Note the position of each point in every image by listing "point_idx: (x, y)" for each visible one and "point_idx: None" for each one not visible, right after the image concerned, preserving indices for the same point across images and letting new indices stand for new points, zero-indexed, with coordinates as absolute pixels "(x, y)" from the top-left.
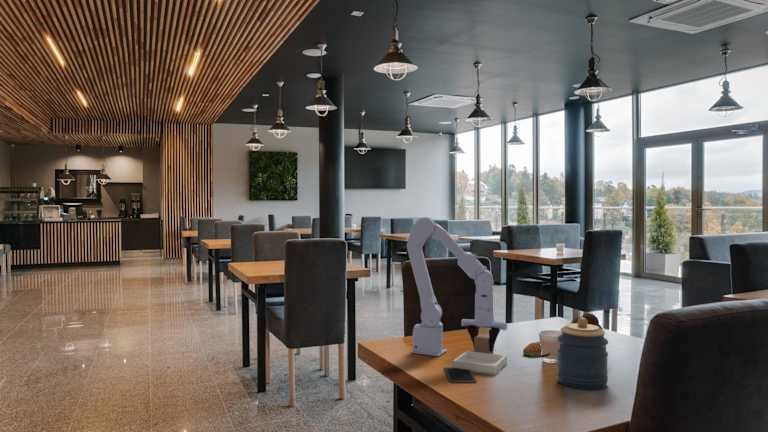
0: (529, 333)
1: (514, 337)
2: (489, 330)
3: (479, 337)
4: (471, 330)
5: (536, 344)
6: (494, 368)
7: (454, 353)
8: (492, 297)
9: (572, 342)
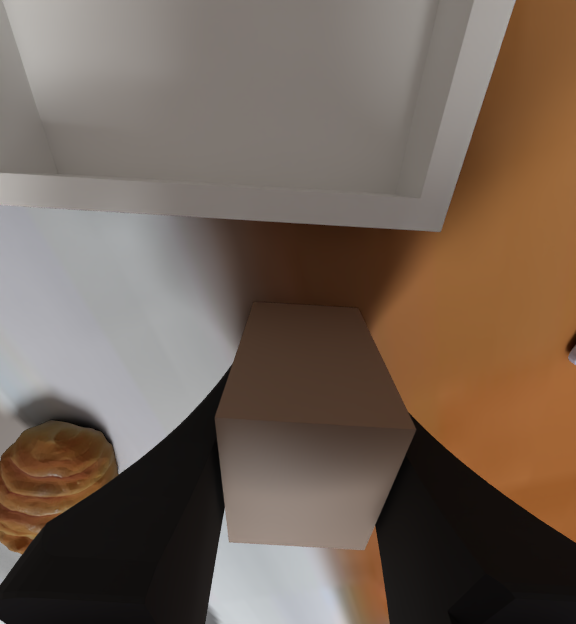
0: (225, 614)
1: (253, 586)
2: (128, 604)
3: (344, 455)
4: (532, 566)
5: (15, 515)
6: None
7: (508, 329)
8: None
9: None
